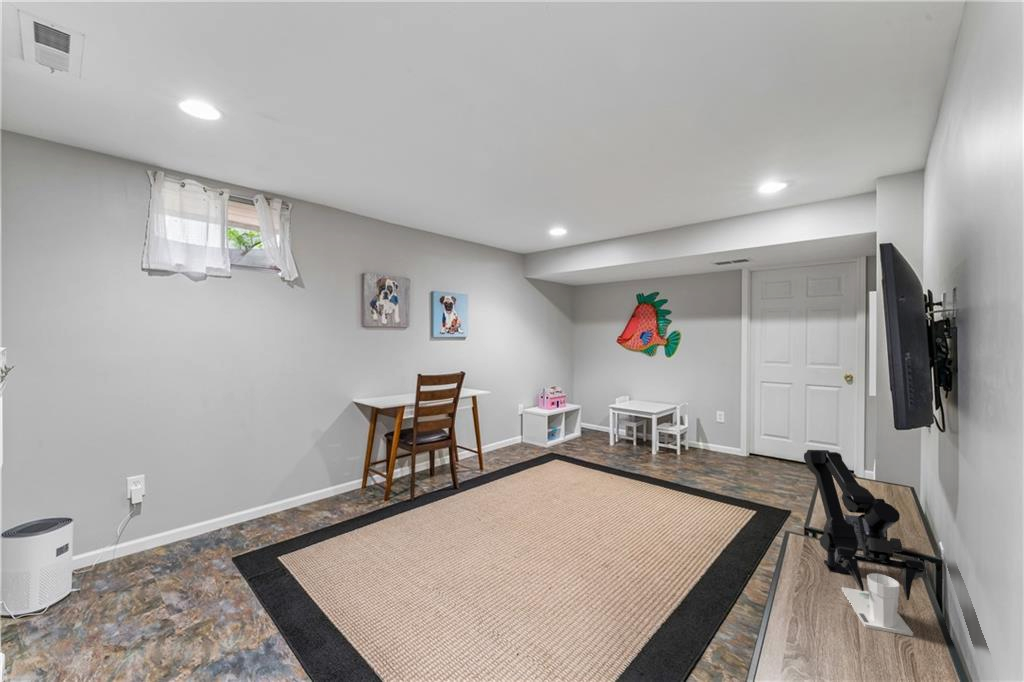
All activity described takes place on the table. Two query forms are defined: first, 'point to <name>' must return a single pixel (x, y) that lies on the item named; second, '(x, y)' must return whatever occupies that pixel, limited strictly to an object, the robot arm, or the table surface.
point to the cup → (883, 599)
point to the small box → (852, 520)
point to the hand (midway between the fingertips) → (884, 595)
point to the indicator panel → (862, 609)
